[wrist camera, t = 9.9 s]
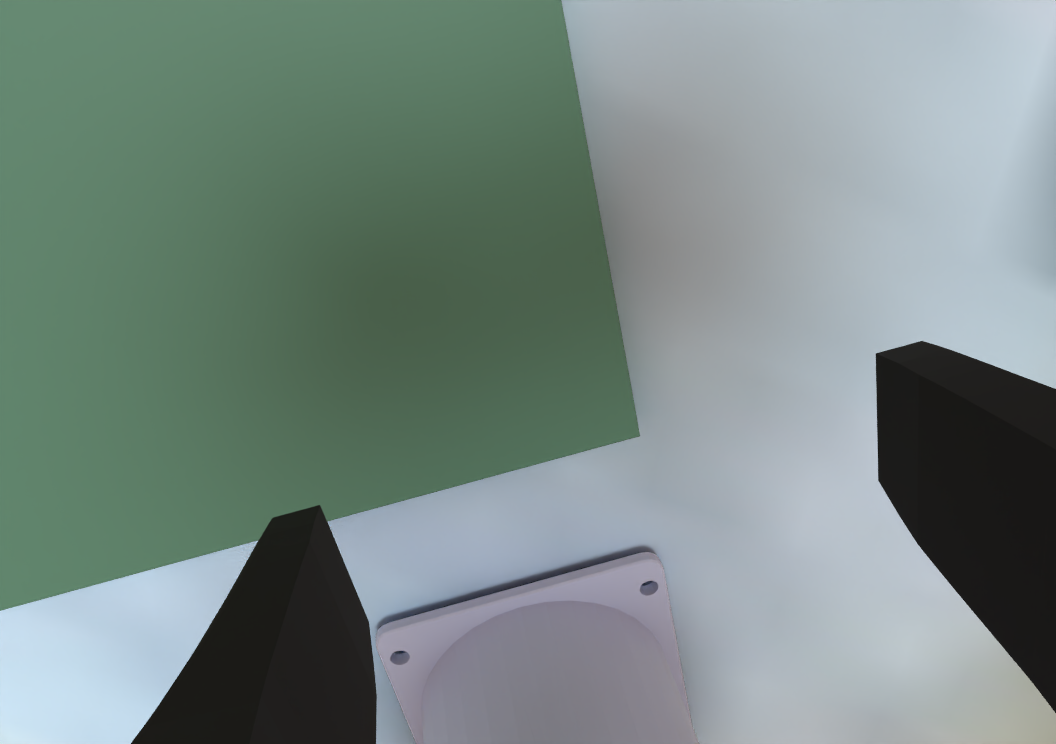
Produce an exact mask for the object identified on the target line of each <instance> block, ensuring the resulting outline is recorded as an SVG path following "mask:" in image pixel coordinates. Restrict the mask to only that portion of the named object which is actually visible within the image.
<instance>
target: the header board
mask: <svg viewBox="0 0 1056 744" xmlns="http://www.w3.org/2000/svg"><path fill="white" fill-rule="evenodd" d="M638 436H640V433H639V428H638V422H637V417H636V411H635V406H634V400H633V395H632V389H631V384H630V378H629V373H628V367H627V362H626V356H625V351H624V345H623V340H622V334H621V329H620V323H619V317H618V312H617V306H616V301H615V295H614V290H613V284H612V279H611V273H610V268H609V262H608V257H607V251H606V246H605V240H604V235H603V229H602V224H601V218H600V213H599V207H598V201H597V196H596V190H595V185H594V179H593V174H592V168H591V163H590V157H589V152H588V146H587V141H586V135H585V130H584V124H583V119H582V113H581V108H580V102H579V97H578V91H577V85H576V80H575V74H574V69H573V63H572V58H571V52H570V47H569V41H568V36H567V30H566V25H565V19H564V14H563V8H562V3H561V0H0V611H1V610H4V609H8V608H12V607H15V606H19V605H23V604H26V603H30V602H34V601H37V600H41V599H45V598H48V597H52V596H56V595H59V594H63V593H67V592H70V591H74V590H78V589H81V588H85V587H89V586H92V585H96V584H100V583H103V582H107V581H111V580H114V579H118V578H122V577H125V576H129V575H133V574H136V573H140V572H144V571H147V570H151V569H155V568H158V567H162V566H166V565H169V564H173V563H177V562H180V561H184V560H188V559H191V558H195V557H199V556H202V555H206V554H210V553H213V552H217V551H220V550H224V549H228V548H231V547H235V546H239V545H242V544H246V543H250V542H253V541H257V540H259V539H260V537H261V536H262V534H263V532H264V531H265V529H266V527H267V526H268V524H269V522H270V521H271V519H272V518H273V517H277V516H281V515H284V514H288V513H292V512H295V511H299V510H303V509H306V508H310V507H314V506H317V505H320V506H321V508H322V510H323V513H324V515H325V518H326V520H327V521H330V520H334V519H338V518H341V517H345V516H349V515H352V514H356V513H360V512H363V511H367V510H371V509H374V508H378V507H382V506H385V505H389V504H393V503H396V502H400V501H404V500H407V499H411V498H415V497H418V496H422V495H426V494H429V493H433V492H437V491H440V490H444V489H448V488H451V487H455V486H459V485H462V484H466V483H470V482H473V481H477V480H481V479H484V478H488V477H492V476H495V475H499V474H503V473H506V472H510V471H514V470H517V469H521V468H525V467H528V466H532V465H536V464H539V463H543V462H547V461H550V460H554V459H558V458H561V457H565V456H569V455H572V454H576V453H580V452H583V451H587V450H591V449H594V448H598V447H602V446H605V445H609V444H613V443H616V442H620V441H624V440H627V439H631V438H635V437H638Z"/></svg>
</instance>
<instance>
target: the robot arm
mask: <svg viewBox="0 0 1056 744" xmlns="http://www.w3.org/2000/svg"><path fill="white" fill-rule="evenodd" d="M876 384H877V433H878V481H879V482H880V484H881V486H882V487H883V489H884V491H885V492H886V494H887V496H888V497H889V499H890V501H891V502H892V504H893V506H894V507H895V509H896V511H897V512H898V514H899V516H900V517H901V519H902V520H903V522H904V524H905V525H906V527H907V528H908V530H909V531H910V533H911V534H912V536H913V537H914V539H915V541H916V542H917V544H918V545H919V546H920V547H921V549H922V550H923V551H924V552H925V554H926V555H927V556H928V557H929V559H930V560H931V561H932V562H933V564H934V565H935V566H936V567H937V568H938V570H939V571H940V572H941V573H942V575H943V576H944V577H945V578H946V579H947V581H948V582H949V583H950V584H951V586H952V587H953V588H954V589H955V590H956V592H957V593H958V594H959V595H960V596H961V598H962V599H963V600H964V601H965V602H966V604H967V605H968V606H969V607H970V608H971V610H972V611H973V612H974V613H975V614H976V615H977V617H978V618H979V619H980V620H981V621H982V623H983V624H984V625H985V626H986V627H987V629H988V630H989V631H990V632H991V633H992V635H993V636H994V637H995V638H996V639H997V641H998V642H999V643H1000V644H1001V645H1002V647H1003V648H1004V649H1005V650H1006V651H1007V652H1008V654H1009V655H1010V656H1011V657H1012V658H1013V660H1014V661H1015V662H1016V663H1017V664H1018V666H1019V667H1020V668H1021V669H1022V670H1023V672H1024V673H1025V674H1026V675H1027V676H1028V678H1029V679H1030V680H1031V681H1032V683H1033V684H1034V685H1035V686H1036V688H1037V689H1038V690H1039V692H1040V693H1041V694H1042V696H1043V697H1044V698H1045V699H1046V701H1047V702H1048V703H1049V705H1050V706H1051V707H1052V709H1053V710H1054V711H1055V713H1056V389H1054V388H1051V387H1049V386H1046V385H1043V384H1041V383H1038V382H1035V381H1033V380H1030V379H1027V378H1024V377H1022V376H1019V375H1016V374H1014V373H1011V372H1009V371H1006V370H1003V369H1001V368H998V367H995V366H993V365H990V364H987V363H985V362H982V361H979V360H977V359H974V358H971V357H968V356H966V355H963V354H960V353H957V352H955V351H952V350H949V349H946V348H943V347H940V346H937V345H934V344H930V343H927V342H923V341H920V342H917V343H913V344H909V345H906V346H902V347H898V348H895V349H891V350H887V351H883V352H880V353H876ZM647 581H652V583H650V584H648V585H646V586H641V585H642V584H643V583H645V582H647ZM376 648H377V651H378V653H379V656H380V658H381V661H382V663H383V665H384V668H385V670H386V672H387V675H388V677H389V680H390V682H391V684H392V687H393V689H394V692H395V694H396V696H397V699H398V701H399V704H400V706H401V708H402V711H403V713H404V716H405V718H406V720H407V723H408V725H409V728H410V730H411V732H412V735H413V737H414V740H415V742H416V744H699V742H698V739H697V737H696V734H695V732H694V729H693V727H692V722H691V717H690V711H689V706H688V700H687V695H686V689H685V684H684V678H683V673H682V667H681V662H680V656H679V651H678V645H677V640H676V634H675V628H674V623H673V617H672V612H671V606H670V601H669V595H668V590H667V584H666V579H665V573H664V568H663V566H662V564H661V561H660V559H659V557H658V556H657V555H655V554H654V553H650V552H642V553H638V554H634V555H630V556H627V557H623V558H620V559H616V560H612V561H609V562H605V563H602V564H598V565H594V566H591V567H587V568H584V569H580V570H576V571H573V572H569V573H566V574H562V575H558V576H555V577H551V578H548V579H544V580H540V581H537V582H533V583H530V584H526V585H522V586H519V587H515V588H512V589H508V590H504V591H501V592H497V593H494V594H490V595H486V596H483V597H479V598H476V599H472V600H468V601H465V602H461V603H458V604H454V605H450V606H447V607H443V608H440V609H436V610H432V611H429V612H425V613H422V614H418V615H414V616H411V617H407V618H404V619H400V620H396V621H393V622H389V623H387V624H385V625H382V626H381V627H380V628H379V629H378V631H377V633H376ZM396 651H405V652H404V653H402V654H395V653H394V652H396ZM376 701H377V695H376V684H375V674H374V663H373V654H372V646H371V637H370V628H369V621H368V619H367V616H366V614H365V612H364V609H363V607H362V604H361V602H360V600H359V597H358V595H357V592H356V590H355V588H354V585H353V583H352V580H351V578H350V575H349V573H348V571H347V568H346V566H345V563H344V561H343V559H342V556H341V554H340V551H339V549H338V547H337V544H336V542H335V539H334V537H333V535H332V532H331V530H330V527H329V525H328V523H327V520H326V518H325V515H324V513H323V510H322V508H321V506H320V505H317V506H314V507H310V508H306V509H303V510H299V511H295V512H292V513H288V514H284V515H281V516H277V517H273V518H272V519H271V521H270V522H269V524H268V526H267V527H266V529H265V531H264V532H263V534H262V536H261V537H260V539H259V541H258V542H257V544H256V546H255V548H254V550H253V551H252V553H251V555H250V557H249V559H248V560H247V562H246V564H245V566H244V567H243V569H242V571H241V573H240V575H239V576H238V578H237V580H236V582H235V583H234V585H233V587H232V589H231V590H230V592H229V594H228V596H227V598H226V599H225V601H224V603H223V604H222V606H221V608H220V609H219V611H218V613H217V614H216V616H215V618H214V619H213V621H212V623H211V625H210V626H209V628H208V630H207V631H206V633H205V635H204V636H203V638H202V640H201V641H200V643H199V645H198V646H197V648H196V649H195V651H194V653H193V654H192V656H191V657H190V659H189V661H188V662H187V664H186V665H185V667H184V668H183V670H182V671H181V673H180V674H179V676H178V677H177V679H176V680H175V682H174V683H173V685H172V686H171V688H170V689H169V691H168V692H167V694H166V695H165V697H164V698H163V700H162V701H161V703H160V704H159V706H158V707H157V709H156V710H155V712H154V713H153V714H152V716H151V717H150V718H149V720H148V721H147V723H146V724H145V725H144V727H143V728H142V729H141V731H140V732H139V733H138V735H137V736H136V737H135V739H134V740H133V741H132V743H131V744H376Z"/></svg>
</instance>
